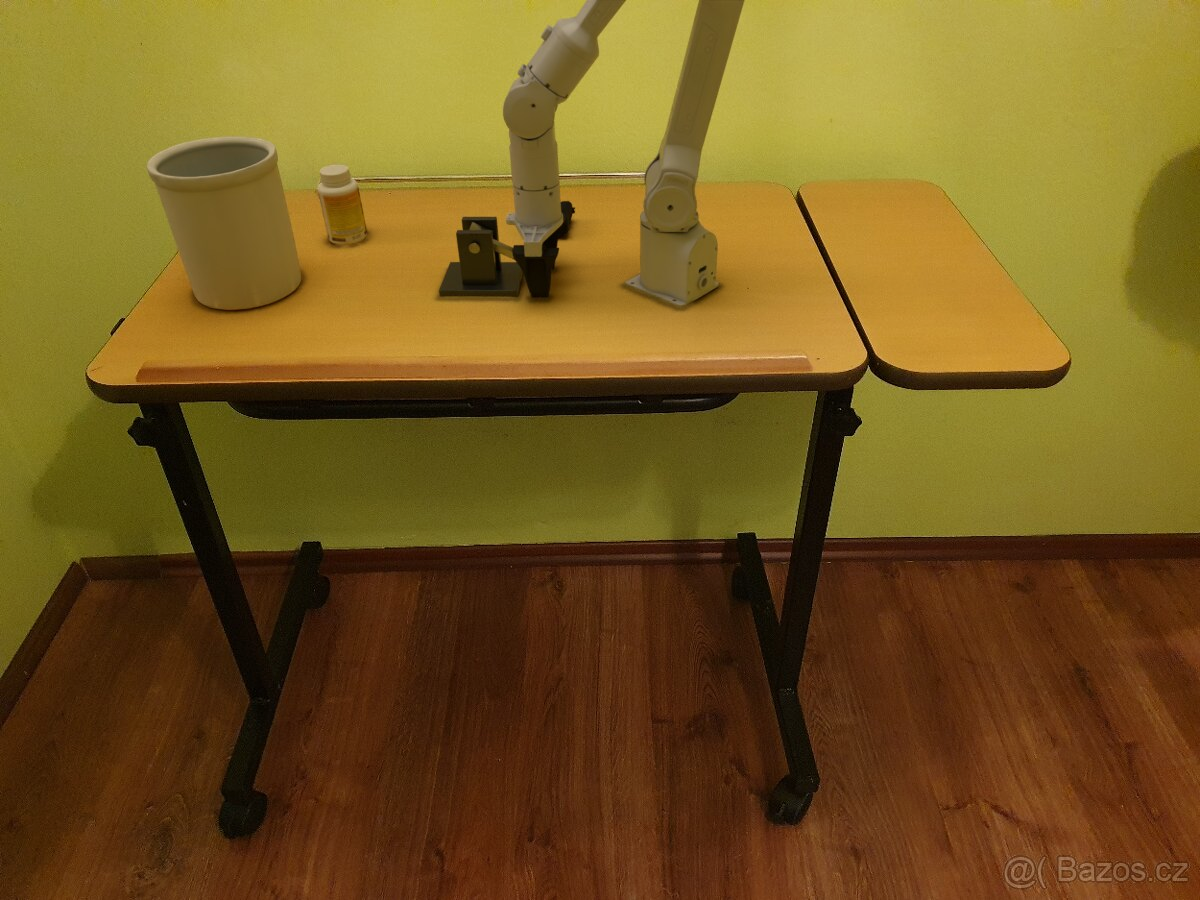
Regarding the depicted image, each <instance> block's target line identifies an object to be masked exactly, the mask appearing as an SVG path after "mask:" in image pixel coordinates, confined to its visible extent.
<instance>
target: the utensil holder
mask: <svg viewBox="0 0 1200 900" xmlns="http://www.w3.org/2000/svg"><path fill="white" fill-rule="evenodd" d="M278 160H279V157H278V152H277V148H276V146H275V145H274V143H273V142H271V141H269V140H267V139H263V138H258V137H253V136H252V137H251V136H236V135H235V136H233V135H232V136H217V137H216V136H215V137H207V138H201V139H200V138H199V139H196V140H190V141H186V142H182V143H178V144H176V145H173V146H170V147H167V148H165V149H163V150H161V151H159V152H157V153H156V154H154V155H153V156H152V157H150V159H149V160H148V161H147V163H146V170H147V173H148V176H149V177H150V179H151V181H152V182H153V183H154V184H155V185H154V186H155V188H156V191H157V194H158V196H159V199H160V202H161V205H162V207H163V210H164V213H165V216H166V219H167V222H168V225H169V228H170V231H171V233H172V237H173V239H174V242H175V246H176V248H177V251H178V254H179V257H180V260H181V262H182V265H183V268H184V271H185V273H186V276H187V279H188V281H189V285H190V286H191V289H192V292H193V295H194V297H195V299H196V300H197V301H198V302H199V303H200V304H202V305H204V306H206V307H208V308H211V309H215V310H216V309H217V310H227V311H232V310H234V311H236V310H247V309H254V308H257V307H262V306H266V305H270V304H272V303H275V302H277V301H280V300H282V299H284V298H285V297H288V296H289V295H290V294H292V293H293V292H294V291H295V290H297V288H299V286H300V284H301V283H302V272H301V265H300V261H299V256H298V250H297V245H296V240H295V236H294V231H293V227H292V222H291V217H290V213H289V208H288V205H287V200H286V195H285V192H284V187H283V186H284V185H283V181H282V179H281V178H282V177H281V173H280V169H279V165H278Z"/></svg>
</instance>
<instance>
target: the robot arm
mask: <svg viewBox="0 0 1200 900" xmlns="http://www.w3.org/2000/svg"><path fill="white" fill-rule="evenodd" d="M626 2H627V0H586V1H585V2H584V4H583V5H582V7H581V8H580V10H579V11H578V13H577V14H576V16H573V17H572V16H571V17H568V18H561V19H558V20H557V21H556V22H555V23H554V25H553V27H552V26H551V25H550V24H547V25H546V26H545V28H544V30H543V31H542V33H541V35H540V38H541V39H542V40H543V41H542V43H541V44H540V46H539V47H538V48H537V50H536V51H535V53H534V54H533V55H532V57H531V58H530V60H529V62H528V63H527V65H526V64H525V63H522V64H521V66H520V67H519V69H518V70H517V75H518V76H519V77H518V78H516V79H515V80H514V81H513V82H512V84H511V86H509V87H510V88H509V90H508V93H507V94H506V97H505V99H504V101H503V106H502V117H503V121H504V123H505V125H506V127H507V129H508V138H509V147H508V151H509V159H510V169H511V170H510V172H511V183H512V193H513V194H512V195H513V204H514V212H512V213H511V212H510V213H508V214H506V218H505V222H506V225H508V226H515V228H516V230H517V231H518V233H519V235H520V237H521V238H522V240H523V244H513V246H512V247H513V250H512V254H513V258H514V259H513V260H514V262H517V263H518V265H519V266H520V268H521V270H522V272H523V277H524V279H525V283H526V285H527V288H528V291H529V294H530V296H531V298H532V299H533V298H539V299H540V298H542V299H543V298H546V299H547V298H549V296H550V290H551V284H552V283H551V282H552V271H553V270H555V267H556V266H555V265H556V260H557V258H558V255H559V252H560V247H558V242H559V237H560V236H559V234H560V231H561V229H562V226H563V224H564V222H565V214H564V213H562V212H561V202H562V200H561V186H560V185H561V184H560V167H559V149H558V142H557V140H556V127H555V125H556V123H555V120H556V119H555V118H556V112H557V109H558V106H559V105H560V104H562V103H564V102H566V101H567V100H568V99H569V97H570V96H571V94H572V93H573V91H574V90H575V89H576V87H578V85H579V84H580V82H581V81H582V79H584V77H585V75H586V74H587V73H588V72H589V70H590V69H591V67H593V65H594V63H595V62H596V61H597V59H598V58H599V56H600V48H599V40H598V37H599V36H600V34H601V33H602V32H603V31H604V30H605V28H606V27H607V25H609V23H610V22H611V20H612V19H614V17H615V16H616V14H617V13H618V12H619V11H620V9H621V8H622V6H623V5H624V4H625V3H626ZM744 4H745V0H698V3H697V7H696V10H695V15H694V18H693V22H692V26H691V31H690V34H689V38H688V42H687V45H686V50H685V54H684V57H683V61H682V66H681V69H680V74H679V77H678V81H677V85H676V88H675V92H674V97H673V101H672V104H671V109H670V113H669V115H668V121H667V124H666V128H665V132H664V135H663V137H662V139H661V141H660V144H659V148H658V152H657V154H656V156H655V157H654V158H653V159H652V160H651V162H650V163H649V164H648V166H647V167H646V169H645V171H644V178H643V180H644V187H645V188H644V189H645V190H644V191H645V192H644V198H643V205H642V206H643V211H642V212H640V215H639V221H640V222H639V230H640V231H639V274H637V275H635V276H633V277H631V278H630V279H627V280H626V281H625V285H626V286H628V287H630V288H633V289H635V290H637V291H640V292H642V293H645V294H647V295H649V296H652V297H655V298H657V299H659V300H662V301H664V302H667V303H669V304H671V305H674V306H676V307H680V308H682V307H685V306H687V305H688V304H690V303H692V302H695V301H696V300H698V299H699V298H701V297H703V296H705V295H706V294H708V293H709V292H711V291H713V290H714V289H716V288H718V287H719V286H720V282H719V281H717V263H718V249H719V248H718V247H719V246H718V245H719V244H718V239H717V236H716V234H714V233H713V232H712V231H710V230H708V229H707V228H705V226H703V225H702V223H701V222H700V220H699V219H700V217H699V216H700V215H699V212H698V210H697V209H698V201H697V196H696V184H697V181H698V177H699V171H700V165H701V164H700V163H701V157H702V152H703V149H704V144H705V140H706V137H707V134H708V129H709V126H710V123H711V120H712V116H713V114H714V113H713V112H714V109H715V106H716V103H717V99H718V95H719V92H720V89H721V85H722V80H723V77H724V74H725V70H726V67H727V64H728V60H729V56H730V53H731V50H732V46H733V42H734V40H735V39H734V38H735V35H736V32H737V29H738V24H739V21H740V17H741V14H742V11H743V8H744Z"/></svg>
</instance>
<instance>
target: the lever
mask: <svg viewBox="0 0 1200 900" xmlns="http://www.w3.org/2000/svg"><path fill="white" fill-rule="evenodd" d="M469 230H489V229H487V228H485V227H483V226H480V225H478V224H476V223H474V222H472V224H471V226H470V229H469ZM492 232H493V231H492ZM493 244H494V251H496V252H498V253H500V255H502V256H505V257H507V258H509V259H512V260H514V258H513V254H512V250H513V247H514V246H510V245H508V244H506V243H503V242H501V241H500V240H499V241H497V240H495V239H493Z"/></svg>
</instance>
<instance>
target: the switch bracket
mask: <svg viewBox="0 0 1200 900" xmlns="http://www.w3.org/2000/svg"><path fill="white" fill-rule="evenodd" d="M472 222H474V223H476V224H478V225H480V226H483V227H485V228H487V229H489V230H469V229H470V226H471V224H472ZM461 228H462V229H457V230H456V232H455V236H456V237H455V238H456V245H457V251H458V253H457V254H458V259H459V261H450V262H449V263H448V267H447V268H446V272H445V274H444V277H443V279H442V282H441V283H440V287H439V289H438V294H439V297H482V298H483V297H496V298H497V297H499V298H500V297H502V298H503V297H504V298H505V297H506V298H508V297H509V298H512V297H513V298H517V297H518V295H519V291H520V288H521V284H522V280H523V277H524V274H523V272H522V270H521V268H520V266H519V265H518V263H517V262H516V261H502V257H501V255H502V254H500V253H498V252H496V251H494V244H493V239H495V240H497V241H499V242H500V236H499V226H498V217H497V216H462V218H461ZM492 231H493V232H492Z"/></svg>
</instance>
